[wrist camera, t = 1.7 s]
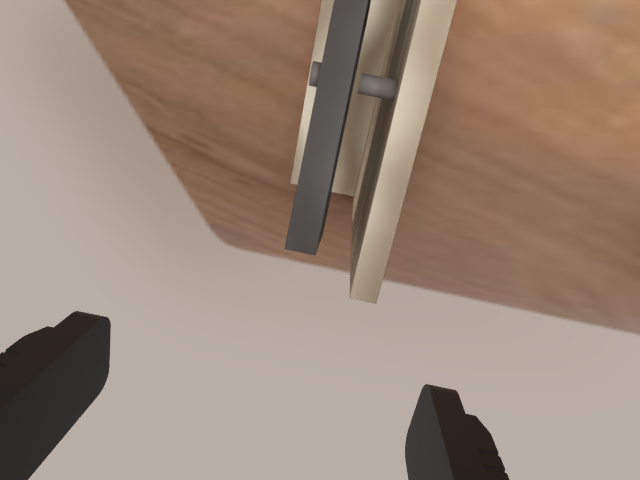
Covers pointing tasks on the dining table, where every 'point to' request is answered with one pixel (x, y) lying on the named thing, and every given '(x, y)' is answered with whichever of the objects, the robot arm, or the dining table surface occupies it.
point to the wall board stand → (382, 123)
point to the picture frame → (327, 123)
